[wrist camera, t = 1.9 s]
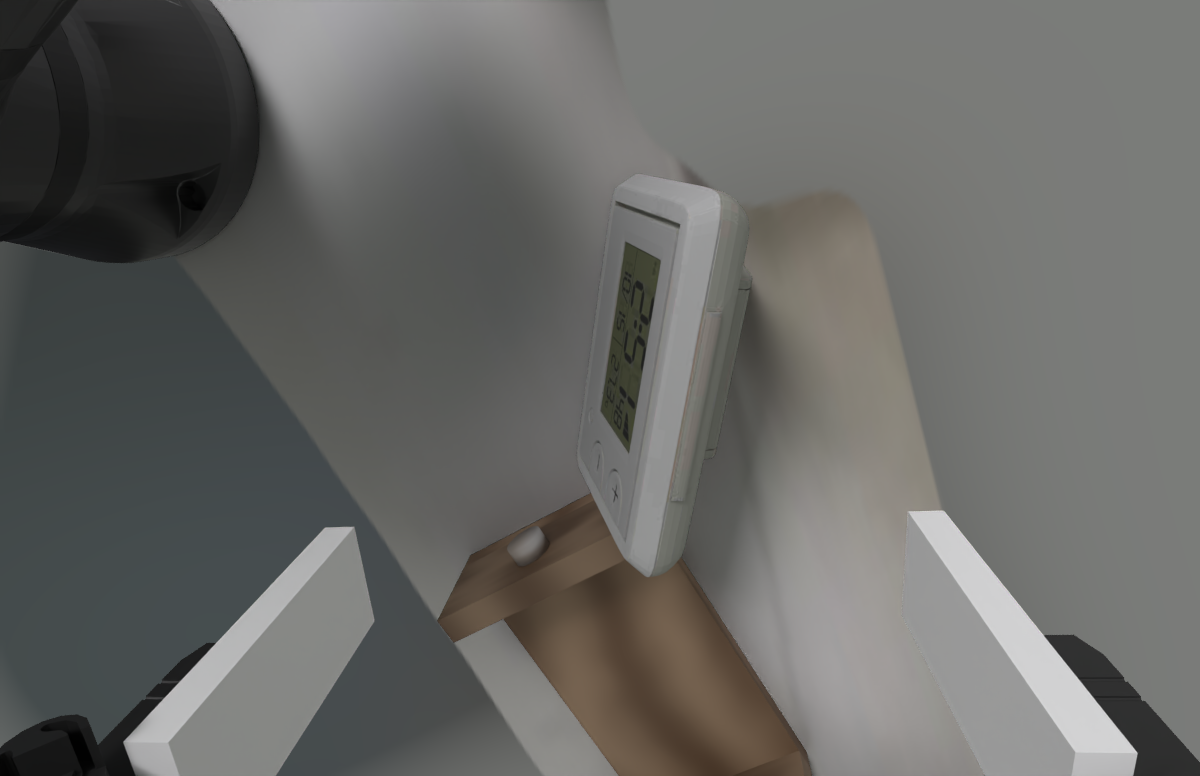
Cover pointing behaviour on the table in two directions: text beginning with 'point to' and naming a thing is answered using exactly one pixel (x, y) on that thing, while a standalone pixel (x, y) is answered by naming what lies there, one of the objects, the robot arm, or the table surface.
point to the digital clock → (661, 359)
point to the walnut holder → (627, 651)
